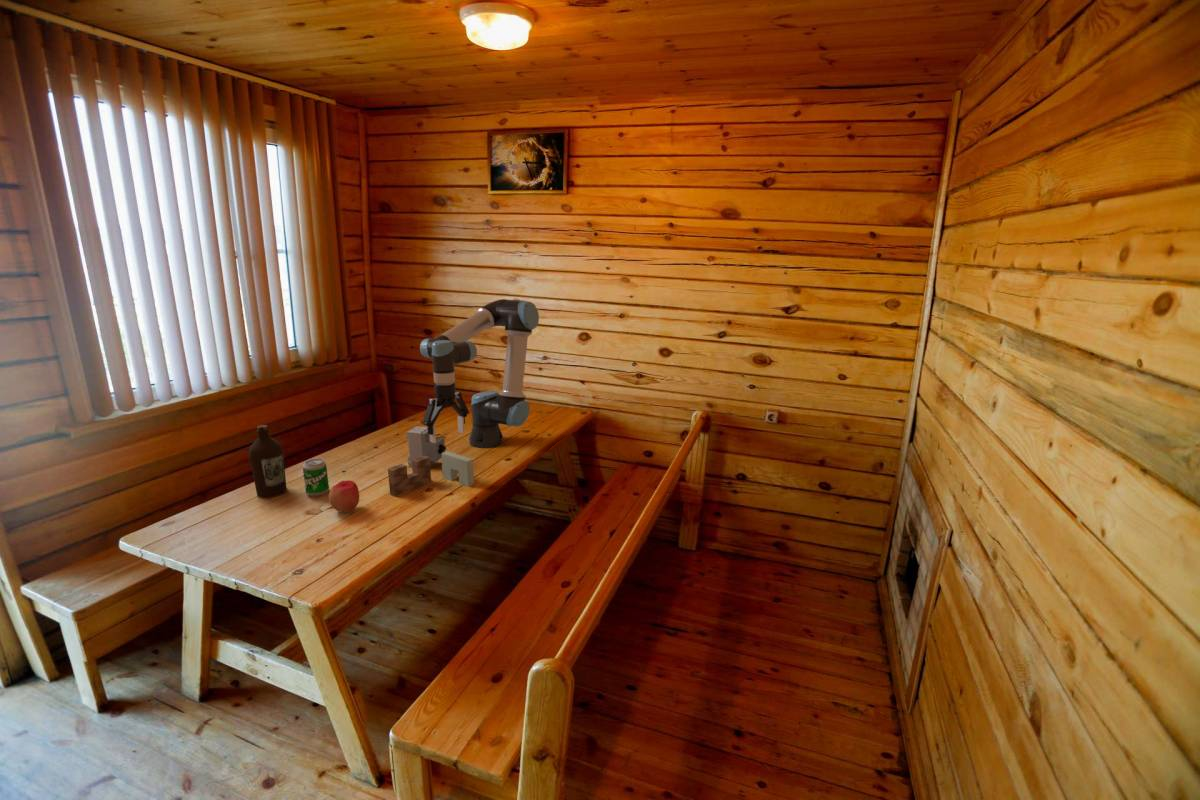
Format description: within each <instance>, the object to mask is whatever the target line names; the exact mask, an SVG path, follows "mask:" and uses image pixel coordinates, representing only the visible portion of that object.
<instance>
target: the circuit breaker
mask: <svg viewBox="0 0 1200 800" xmlns="http://www.w3.org/2000/svg"><path fill="white" fill-rule="evenodd" d="M405 439H406V440H405V441H406V442H405V443H408V451H409V455H408V456H407V464H408V466H407V468H411V469H412V460H414V459H416V458H419V457H422V456H427V457H430V467H432V466H433V465H434V464H436V463H437V462H439V460H442V455H441V453H444V452H446V451H447V446H446V443H445V439H446V438H445V437H443V436H442V437H441V436H436V443H432V442H430V435H429V434H428V427H427V426H413V428H411V429H409V430H407V431H406V435H405Z"/></svg>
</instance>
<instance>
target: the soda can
mask: <svg viewBox="0 0 1200 800" xmlns="http://www.w3.org/2000/svg"><path fill="white" fill-rule="evenodd" d="M302 471H303V481H304V487H305V494H306V495H309V497H320V496H321V497H322V496H324V495H326V494H327V493H328V491H329V490H330V485H329V477H328V468H327V463H326V462H325V460H323V459H322V458H321V459H320V458H313V459H308V460H307V461H305V462H304V464H303V465H302Z"/></svg>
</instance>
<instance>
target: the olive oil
mask: <svg viewBox="0 0 1200 800" xmlns="http://www.w3.org/2000/svg"><path fill="white" fill-rule="evenodd" d="M256 429H257V430H256V431H257V438H256V439H255V441H253V443H252V444H251V445H250V446H249V450H248V459H249V462H250V463H249V464H250V468H251V473H252V476H253V482H254V487H255V492H256V496H257V497H260V498H262V499H263V498H265V499H267V498H274V497H278V496H281V495H283V494H285V493H286V491H287V489H288V488H287V480H286V468H285V456H284V455H285V453H284V448H283V446H282V444H281V443H280V442H279V441H277V439H275V438H273V437H272V436H270V431H269V429H268V425H266V424H262V425H258V426H257V427H256Z"/></svg>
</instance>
